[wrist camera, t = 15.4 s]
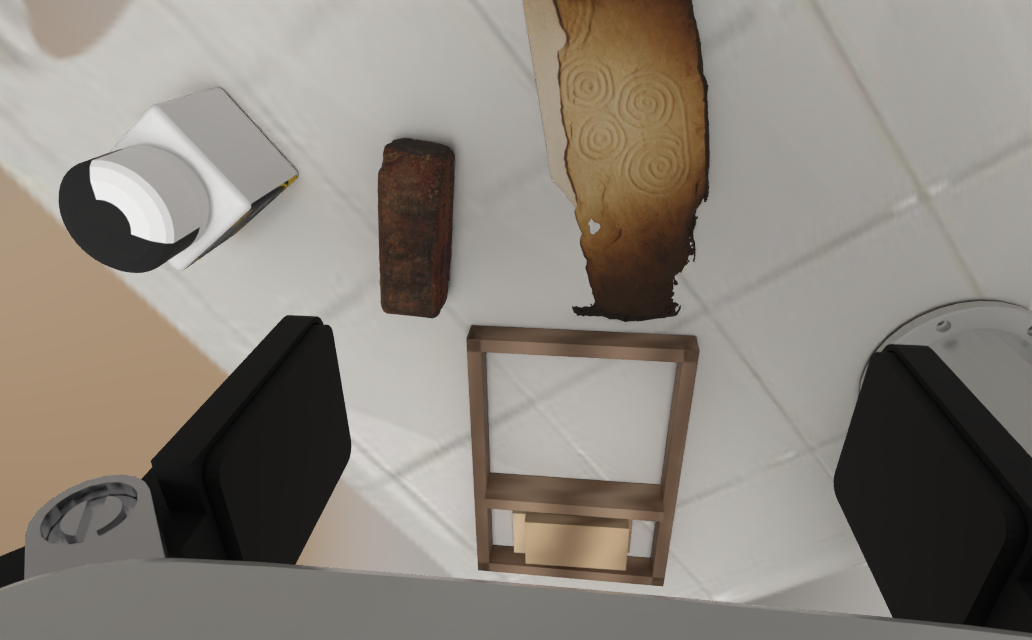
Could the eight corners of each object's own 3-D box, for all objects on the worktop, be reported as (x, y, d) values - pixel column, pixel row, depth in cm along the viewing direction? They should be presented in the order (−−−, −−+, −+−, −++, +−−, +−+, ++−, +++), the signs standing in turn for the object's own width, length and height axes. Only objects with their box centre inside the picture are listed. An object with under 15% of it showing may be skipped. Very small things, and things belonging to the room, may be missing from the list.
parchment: (511, -77, 34) (508, -78, 33) (698, -119, 32) (700, -121, 31) (572, 320, 45) (571, 327, 45) (712, 308, 43) (714, 314, 43)
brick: (452, 291, 45) (438, 322, 41) (398, 284, 45) (378, 314, 41) (457, 141, 40) (442, 159, 36) (396, 134, 40) (374, 151, 36)
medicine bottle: (236, 233, 44) (125, 311, 34) (156, 152, 42) (10, 208, 32) (302, 174, 42) (204, 238, 31) (220, 84, 40) (84, 121, 29)
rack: (695, 336, 44) (701, 358, 42) (660, 567, 55) (664, 596, 53) (471, 325, 46) (463, 346, 43) (481, 552, 57) (476, 579, 54)
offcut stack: (632, 501, 53) (634, 528, 50) (628, 543, 55) (630, 571, 52) (514, 494, 54) (509, 520, 51) (515, 536, 56) (511, 563, 53)
